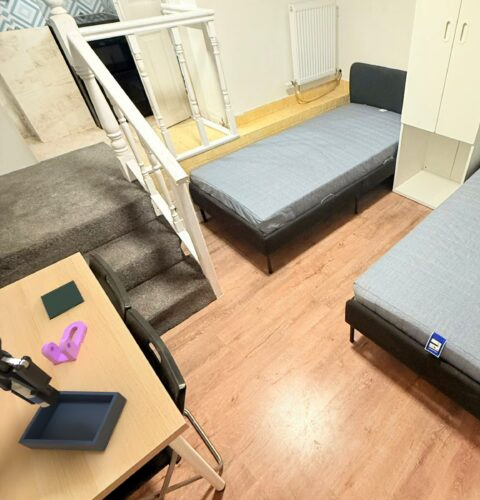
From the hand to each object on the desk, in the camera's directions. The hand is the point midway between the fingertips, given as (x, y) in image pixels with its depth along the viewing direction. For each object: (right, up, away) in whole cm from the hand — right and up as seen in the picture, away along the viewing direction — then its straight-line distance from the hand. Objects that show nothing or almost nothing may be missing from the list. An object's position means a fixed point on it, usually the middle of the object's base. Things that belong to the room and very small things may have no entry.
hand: (46, 398), depth 72 cm
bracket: (-13, +5, +26) cm, 29 cm away
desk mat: (-25, +16, +37) cm, 47 cm away
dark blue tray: (+1, -10, +9) cm, 14 cm away
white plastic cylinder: (0, -1, +1) cm, 1 cm away
